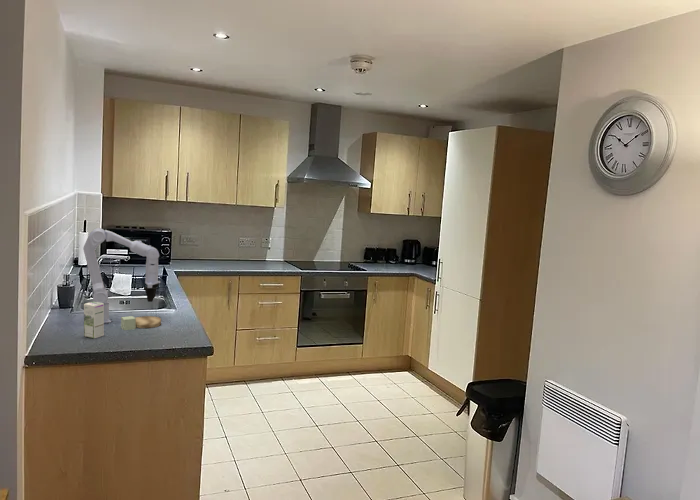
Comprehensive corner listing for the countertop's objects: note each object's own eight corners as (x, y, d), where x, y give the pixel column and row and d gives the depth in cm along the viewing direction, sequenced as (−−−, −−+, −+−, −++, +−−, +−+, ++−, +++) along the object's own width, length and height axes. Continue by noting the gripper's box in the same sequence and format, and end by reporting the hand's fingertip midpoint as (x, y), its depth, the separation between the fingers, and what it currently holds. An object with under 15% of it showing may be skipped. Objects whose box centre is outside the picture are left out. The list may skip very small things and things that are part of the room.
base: (136, 329, 244) (136, 324, 244) (128, 322, 254) (128, 317, 254) (164, 326, 252) (164, 321, 251) (155, 320, 262) (156, 315, 262)
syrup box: (104, 335, 232) (104, 302, 230) (93, 338, 226) (93, 305, 224) (93, 333, 233) (94, 301, 232) (83, 336, 228) (83, 303, 226)
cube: (124, 330, 242) (124, 319, 241) (121, 327, 245) (121, 317, 245) (135, 329, 245) (135, 318, 244) (132, 326, 249) (132, 316, 248)
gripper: (158, 275, 254) (158, 303, 256) (162, 270, 268) (161, 296, 270) (143, 274, 253) (142, 302, 254) (147, 269, 267) (146, 296, 268)
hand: (151, 299), depth 262 cm, fingers open, 7 cm apart
